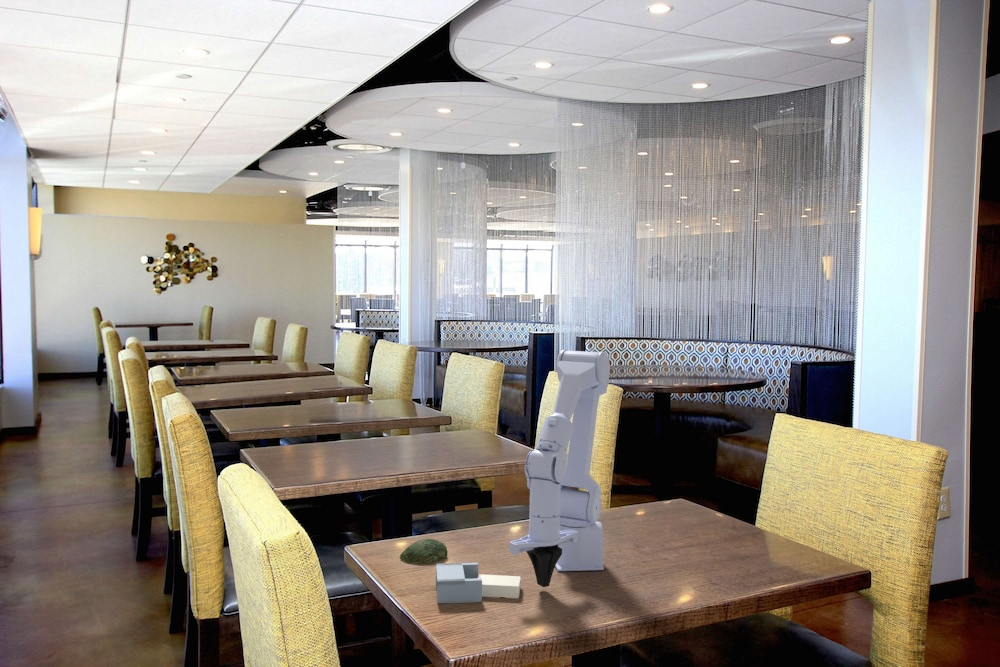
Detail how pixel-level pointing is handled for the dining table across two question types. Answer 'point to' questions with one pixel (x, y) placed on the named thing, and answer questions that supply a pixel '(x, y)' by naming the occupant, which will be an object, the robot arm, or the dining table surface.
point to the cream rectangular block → (500, 586)
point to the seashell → (424, 552)
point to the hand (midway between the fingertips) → (543, 584)
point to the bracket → (458, 583)
